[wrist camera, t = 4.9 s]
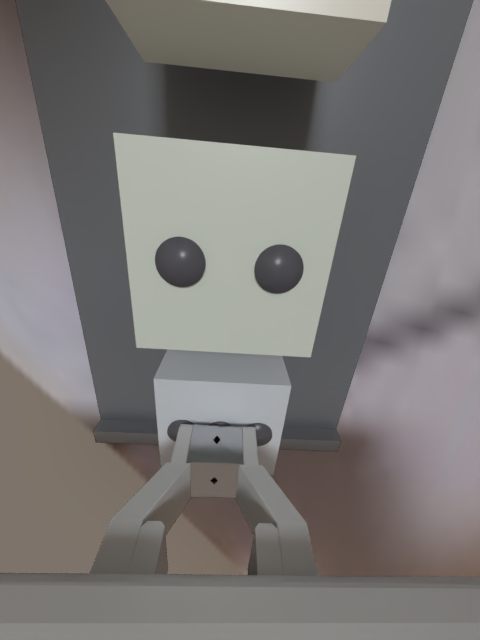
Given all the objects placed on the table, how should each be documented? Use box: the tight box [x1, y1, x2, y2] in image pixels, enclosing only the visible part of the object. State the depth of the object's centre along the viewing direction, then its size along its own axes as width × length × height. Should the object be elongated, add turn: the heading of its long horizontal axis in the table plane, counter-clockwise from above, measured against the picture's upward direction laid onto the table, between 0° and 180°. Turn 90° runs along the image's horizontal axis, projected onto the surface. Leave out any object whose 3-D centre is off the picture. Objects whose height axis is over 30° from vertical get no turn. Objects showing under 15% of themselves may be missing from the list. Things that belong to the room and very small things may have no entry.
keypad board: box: [15, 0, 473, 452], centre depth 10 cm, size 13×21×2 cm, turn 176°
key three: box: [154, 349, 291, 475], centre depth 11 cm, size 5×5×2 cm
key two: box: [113, 133, 356, 357], centre depth 7 cm, size 5×5×2 cm
